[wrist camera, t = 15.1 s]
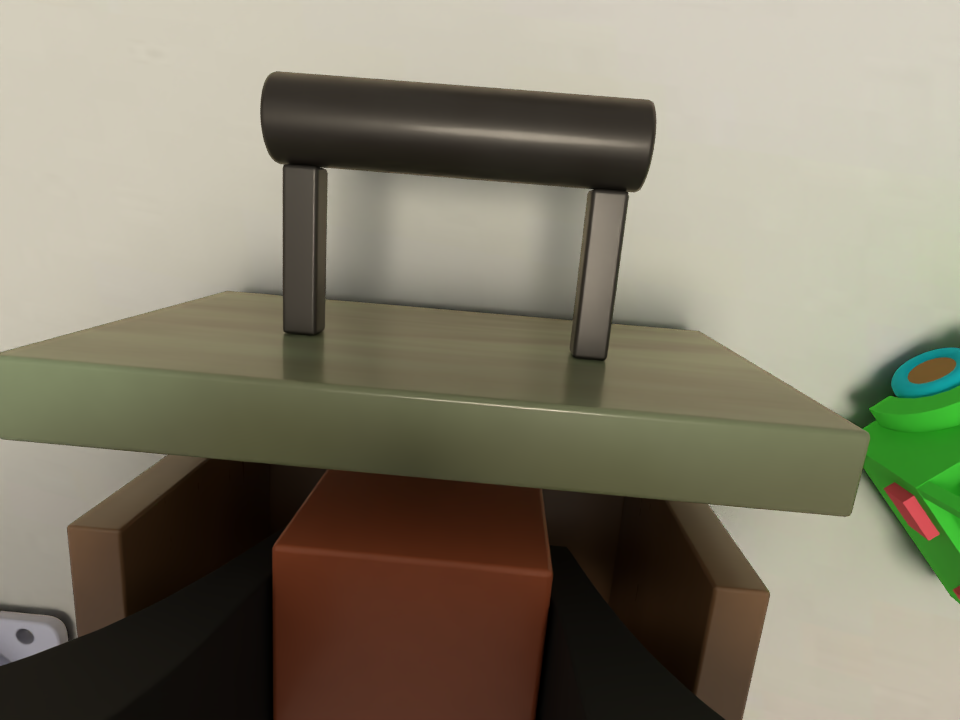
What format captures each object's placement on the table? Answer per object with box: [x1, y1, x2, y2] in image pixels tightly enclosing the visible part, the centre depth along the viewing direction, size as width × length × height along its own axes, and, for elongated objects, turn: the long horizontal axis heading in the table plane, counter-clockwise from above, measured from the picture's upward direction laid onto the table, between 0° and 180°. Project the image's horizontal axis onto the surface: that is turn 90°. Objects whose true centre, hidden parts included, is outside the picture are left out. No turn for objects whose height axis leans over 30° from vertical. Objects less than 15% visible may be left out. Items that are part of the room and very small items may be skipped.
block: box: [272, 469, 553, 720], centre depth 11 cm, size 4×4×4 cm
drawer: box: [0, 71, 870, 720], centre depth 12 cm, size 16×11×7 cm
